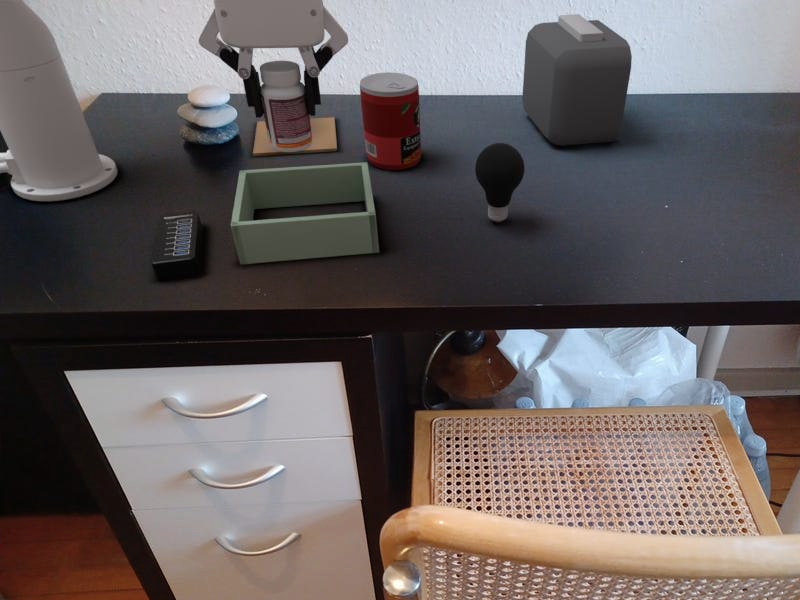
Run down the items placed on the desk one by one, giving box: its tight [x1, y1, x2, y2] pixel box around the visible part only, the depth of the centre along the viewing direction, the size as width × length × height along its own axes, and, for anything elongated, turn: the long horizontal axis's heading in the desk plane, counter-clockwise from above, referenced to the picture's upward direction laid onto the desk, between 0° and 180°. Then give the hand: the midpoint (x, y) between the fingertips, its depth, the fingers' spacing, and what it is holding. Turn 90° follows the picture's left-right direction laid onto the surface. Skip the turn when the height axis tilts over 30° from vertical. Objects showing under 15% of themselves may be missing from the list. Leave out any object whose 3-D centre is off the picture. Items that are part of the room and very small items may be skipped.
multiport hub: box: [150, 210, 204, 282], centre depth 75 cm, size 4×11×2 cm, turn 16°
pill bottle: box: [259, 60, 313, 152], centre depth 71 cm, size 5×5×8 cm
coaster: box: [252, 116, 338, 157], centre depth 101 cm, size 12×12×1 cm
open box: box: [230, 161, 380, 265], centre depth 79 cm, size 16×14×5 cm
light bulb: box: [474, 142, 525, 224], centre depth 79 cm, size 6×6×10 cm
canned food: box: [359, 72, 422, 171], centre depth 92 cm, size 8×8×11 cm
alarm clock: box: [521, 13, 633, 146], centre depth 100 cm, size 16×11×16 cm
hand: (286, 110), depth 71 cm, fingers closed on pill bottle, 4 cm apart
